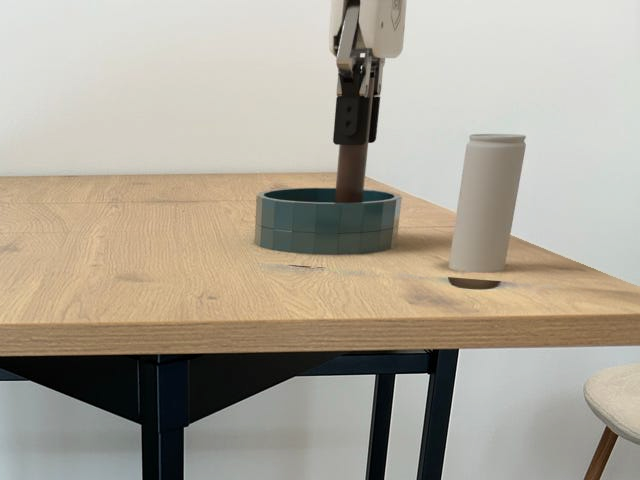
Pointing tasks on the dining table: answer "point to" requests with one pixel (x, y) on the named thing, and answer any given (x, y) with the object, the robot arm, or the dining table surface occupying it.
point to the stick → (353, 166)
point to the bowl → (326, 222)
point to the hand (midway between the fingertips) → (354, 141)
